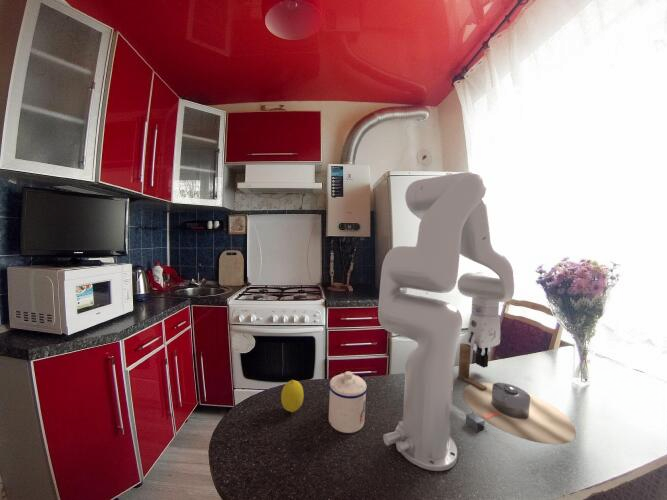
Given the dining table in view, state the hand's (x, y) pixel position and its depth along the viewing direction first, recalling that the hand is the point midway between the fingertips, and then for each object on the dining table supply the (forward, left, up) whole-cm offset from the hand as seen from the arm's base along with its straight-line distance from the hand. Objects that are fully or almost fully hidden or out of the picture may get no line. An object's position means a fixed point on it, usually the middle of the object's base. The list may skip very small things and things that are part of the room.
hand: (481, 365), depth 83 cm
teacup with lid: (-50, -1, -5) cm, 50 cm away
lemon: (-62, +5, -5) cm, 63 cm away
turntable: (-8, -13, -4) cm, 16 cm away
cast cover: (-10, -15, -3) cm, 18 cm away
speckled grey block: (-23, -15, -4) cm, 28 cm away
